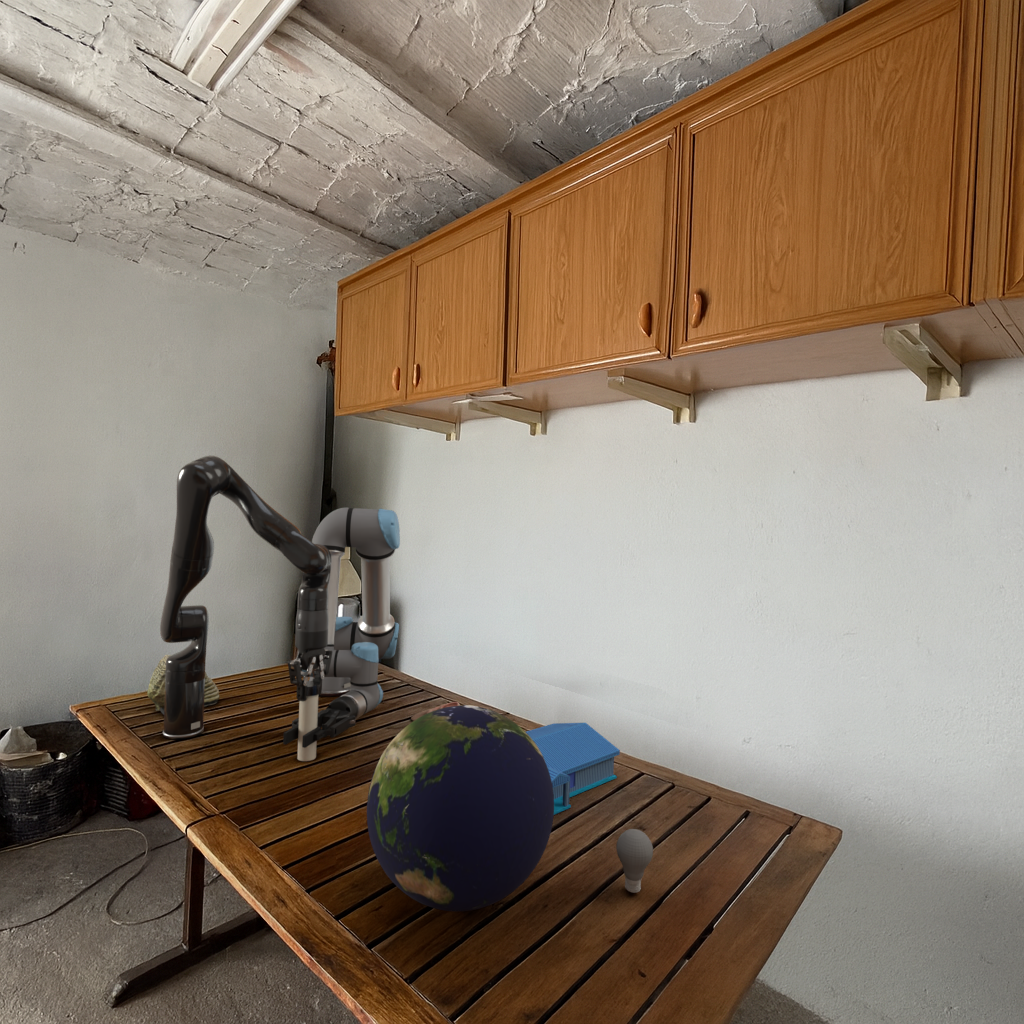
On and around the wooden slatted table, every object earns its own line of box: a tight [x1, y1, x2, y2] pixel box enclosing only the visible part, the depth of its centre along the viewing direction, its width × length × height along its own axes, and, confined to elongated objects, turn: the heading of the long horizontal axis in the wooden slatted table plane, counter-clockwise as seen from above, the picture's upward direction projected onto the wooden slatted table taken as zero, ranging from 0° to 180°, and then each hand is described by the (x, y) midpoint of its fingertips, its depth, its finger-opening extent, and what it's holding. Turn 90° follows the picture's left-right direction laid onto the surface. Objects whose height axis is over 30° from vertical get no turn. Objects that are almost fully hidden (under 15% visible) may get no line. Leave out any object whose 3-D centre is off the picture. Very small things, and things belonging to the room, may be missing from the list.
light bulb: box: [615, 828, 654, 894], centre depth 106 cm, size 6×6×10 cm
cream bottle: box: [296, 695, 320, 762], centre depth 153 cm, size 4×4×17 cm
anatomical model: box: [410, 701, 461, 722], centre depth 184 cm, size 13×4×12 cm
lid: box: [307, 680, 321, 696], centre depth 153 cm, size 5×5×2 cm
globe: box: [366, 704, 555, 913], centre depth 102 cm, size 30×30×30 cm
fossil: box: [147, 654, 221, 712], centre depth 185 cm, size 9×18×15 cm, turn 132°
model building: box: [525, 722, 621, 816], centre depth 143 cm, size 39×24×10 cm, turn 132°
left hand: (309, 697), depth 153 cm, fingers closed on lid, 5 cm apart
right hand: (294, 740), depth 148 cm, fingers closed on cream bottle, 4 cm apart
